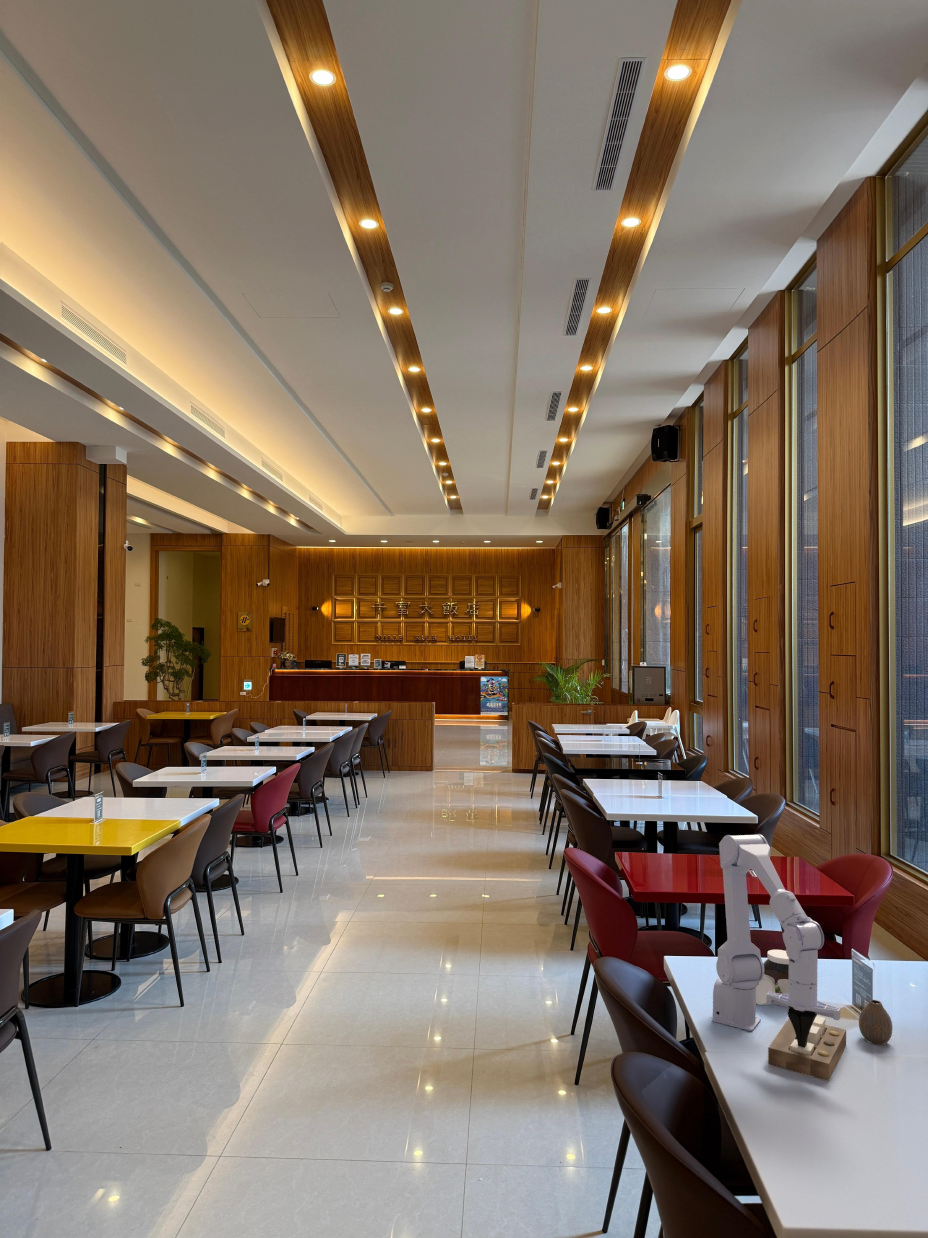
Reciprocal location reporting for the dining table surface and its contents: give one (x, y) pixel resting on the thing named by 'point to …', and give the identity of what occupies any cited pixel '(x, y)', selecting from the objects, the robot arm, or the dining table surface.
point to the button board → (805, 1064)
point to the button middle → (814, 1035)
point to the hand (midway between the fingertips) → (802, 1045)
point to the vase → (875, 1023)
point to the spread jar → (774, 976)
